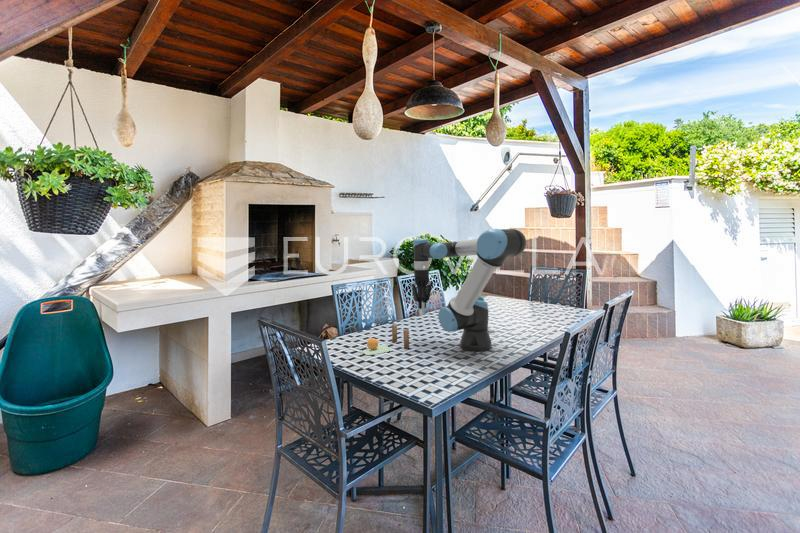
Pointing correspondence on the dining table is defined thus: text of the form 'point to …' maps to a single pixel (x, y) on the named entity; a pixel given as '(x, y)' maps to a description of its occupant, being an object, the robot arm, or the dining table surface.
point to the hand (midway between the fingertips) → (422, 314)
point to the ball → (372, 343)
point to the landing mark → (378, 350)
